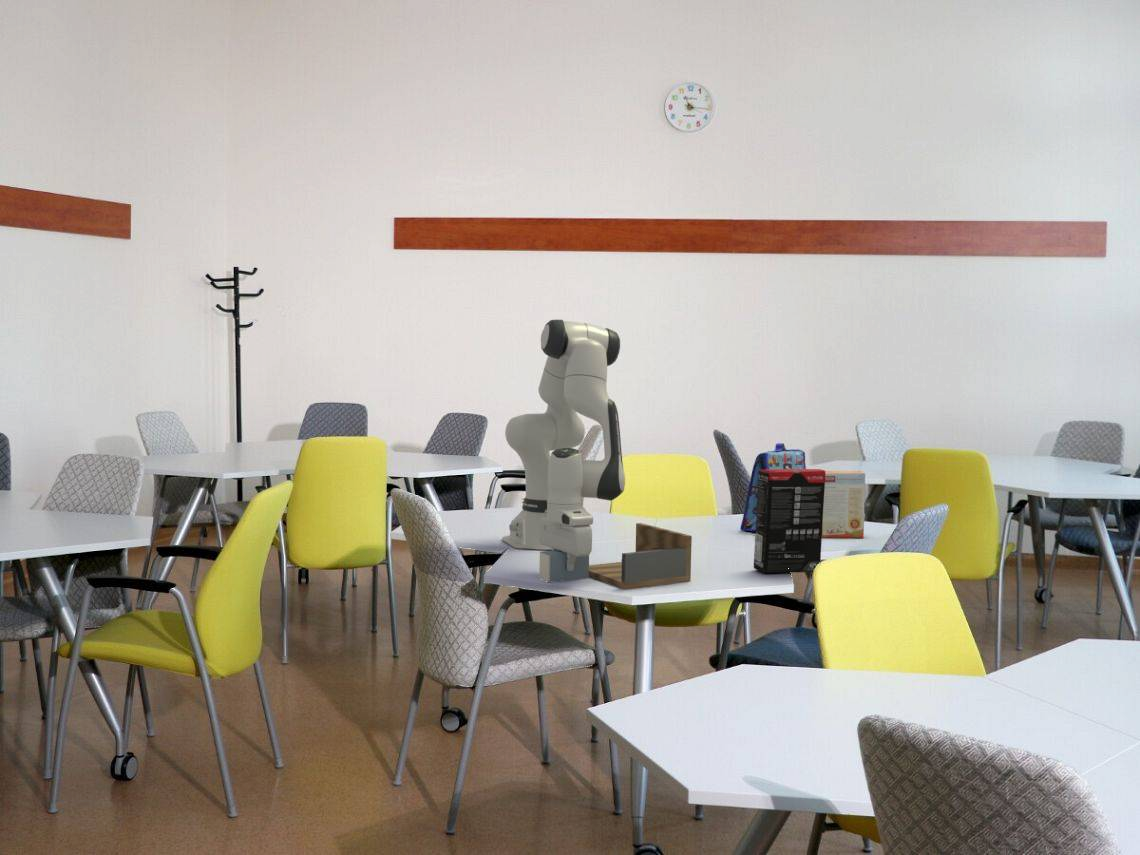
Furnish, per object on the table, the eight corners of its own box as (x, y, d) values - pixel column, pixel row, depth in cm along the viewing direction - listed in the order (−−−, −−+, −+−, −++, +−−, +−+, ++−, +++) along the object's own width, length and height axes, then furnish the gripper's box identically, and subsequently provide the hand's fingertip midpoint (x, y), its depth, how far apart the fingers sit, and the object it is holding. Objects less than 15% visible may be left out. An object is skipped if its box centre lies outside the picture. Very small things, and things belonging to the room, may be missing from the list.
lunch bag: (772, 536, 330) (775, 445, 328) (739, 530, 341) (741, 442, 339) (813, 530, 345) (816, 443, 343) (780, 524, 355) (783, 440, 353)
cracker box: (858, 535, 336) (860, 470, 334) (863, 538, 330) (866, 472, 328) (814, 534, 335) (817, 470, 334) (819, 538, 329) (822, 472, 328)
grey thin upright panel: (621, 581, 253) (622, 553, 253) (682, 574, 263) (682, 547, 262) (624, 583, 252) (625, 554, 251) (685, 575, 261) (686, 548, 261)
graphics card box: (809, 567, 283) (813, 467, 281) (823, 572, 276) (826, 470, 274) (752, 570, 278) (755, 468, 276) (765, 575, 271) (768, 471, 269)
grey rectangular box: (539, 579, 261) (539, 551, 261) (580, 574, 268) (580, 547, 267) (547, 582, 258) (548, 554, 257) (588, 577, 264) (589, 550, 264)
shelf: (576, 572, 271) (577, 528, 270) (639, 565, 281) (640, 523, 280) (624, 589, 252) (625, 542, 251) (690, 581, 262) (691, 535, 262)
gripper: (533, 508, 269) (532, 562, 270) (575, 520, 251) (574, 577, 252) (554, 507, 272) (553, 559, 273) (597, 518, 255) (596, 574, 256)
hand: (563, 568), depth 263 cm, fingers closed on grey rectangular box, 4 cm apart
